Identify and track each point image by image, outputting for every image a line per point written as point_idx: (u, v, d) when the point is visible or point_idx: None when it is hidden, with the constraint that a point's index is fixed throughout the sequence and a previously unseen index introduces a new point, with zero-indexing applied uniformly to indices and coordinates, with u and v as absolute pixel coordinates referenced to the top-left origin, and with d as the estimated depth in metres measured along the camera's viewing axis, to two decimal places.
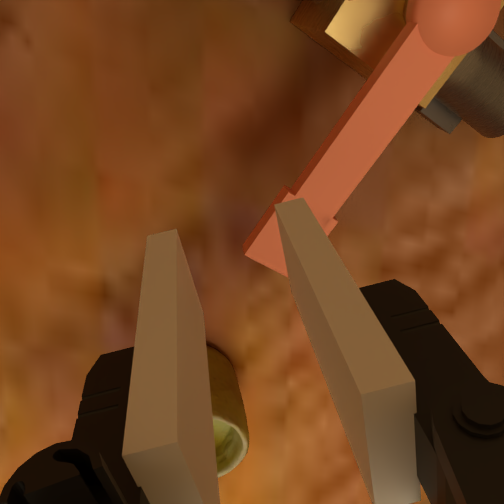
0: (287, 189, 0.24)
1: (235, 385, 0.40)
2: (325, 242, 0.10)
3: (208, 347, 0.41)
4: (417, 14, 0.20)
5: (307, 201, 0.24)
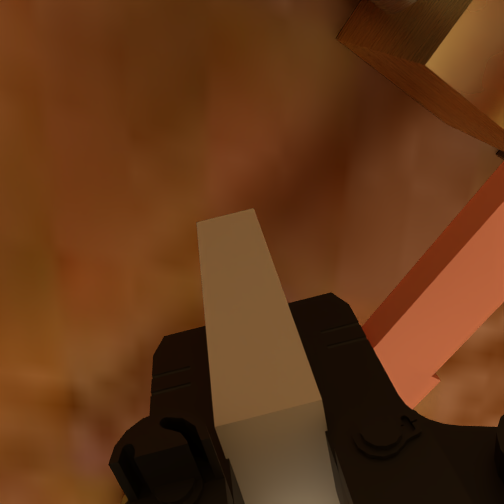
0: None
1: None
2: (265, 255, 0.10)
3: None
4: None
5: (393, 355, 0.14)
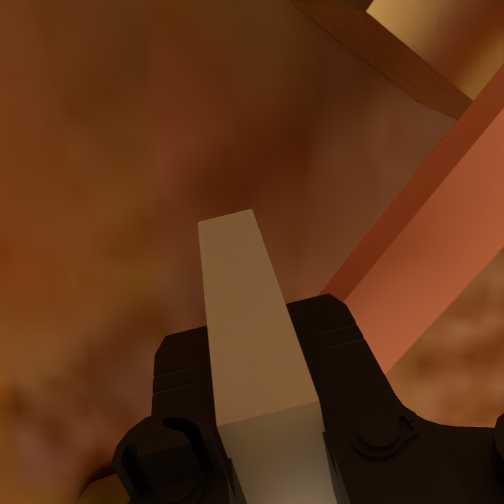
0: None
1: None
2: (263, 255, 0.10)
3: None
4: None
5: None
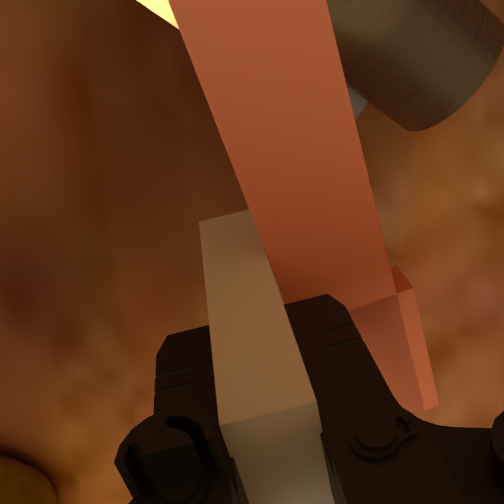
0: None
1: None
2: (262, 256, 0.10)
3: (0, 459, 0.26)
4: None
5: None
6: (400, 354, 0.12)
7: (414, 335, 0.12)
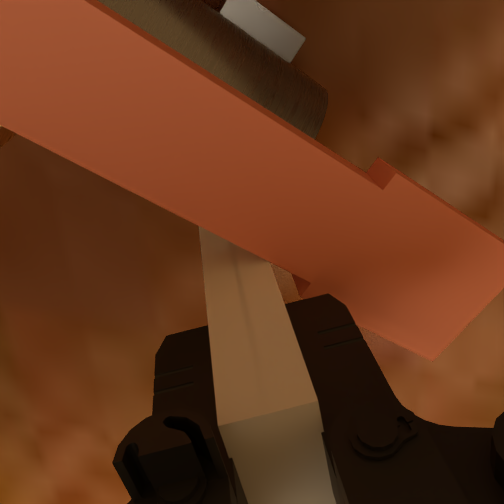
0: (297, 283, 0.11)
1: None
2: None
3: None
4: None
5: (328, 254, 0.10)
6: (439, 240, 0.10)
7: (439, 214, 0.10)
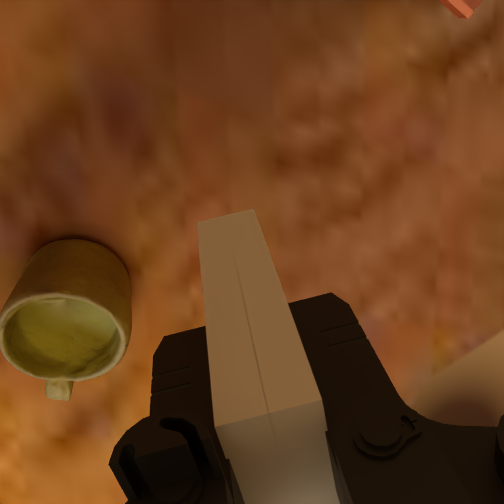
0: None
1: (120, 280, 0.38)
2: (265, 255, 0.10)
3: (95, 243, 0.39)
4: None
5: None
6: None
7: None
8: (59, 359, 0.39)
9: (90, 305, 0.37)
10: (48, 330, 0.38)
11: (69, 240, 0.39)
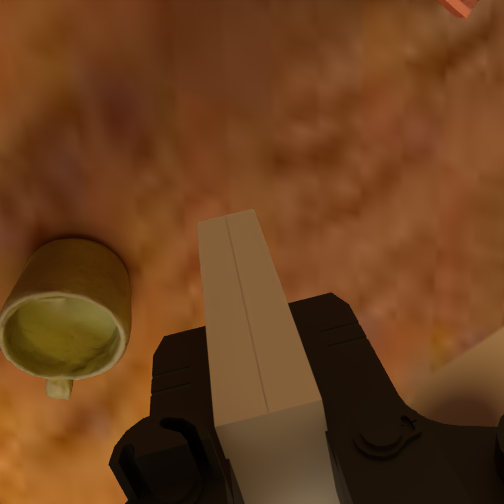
0: None
1: (120, 279, 0.38)
2: (265, 255, 0.10)
3: (95, 242, 0.40)
4: None
5: None
6: None
7: None
8: (59, 358, 0.39)
9: (90, 304, 0.37)
10: (48, 329, 0.38)
11: (69, 239, 0.39)
